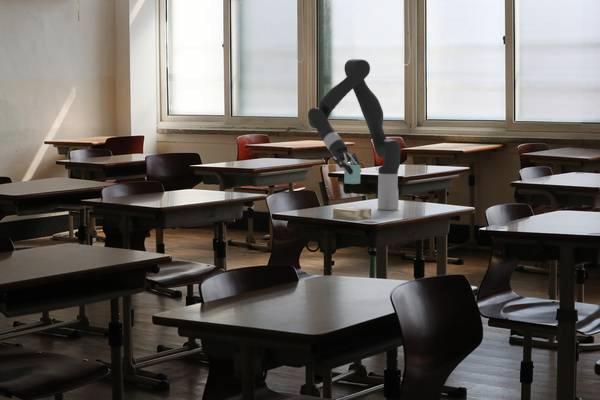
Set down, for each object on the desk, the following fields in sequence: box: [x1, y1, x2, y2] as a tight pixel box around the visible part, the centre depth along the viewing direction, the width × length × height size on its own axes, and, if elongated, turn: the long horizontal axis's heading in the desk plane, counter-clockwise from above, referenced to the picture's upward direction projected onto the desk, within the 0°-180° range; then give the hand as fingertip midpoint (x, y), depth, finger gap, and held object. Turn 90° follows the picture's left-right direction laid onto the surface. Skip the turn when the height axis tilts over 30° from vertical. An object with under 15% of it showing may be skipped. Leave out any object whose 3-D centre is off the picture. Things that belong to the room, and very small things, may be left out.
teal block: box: [343, 164, 361, 185], centre depth 441 cm, size 5×5×8 cm
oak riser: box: [332, 206, 372, 221], centre depth 443 cm, size 12×12×4 cm
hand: (355, 172), depth 440 cm, fingers closed on teal block, 5 cm apart
